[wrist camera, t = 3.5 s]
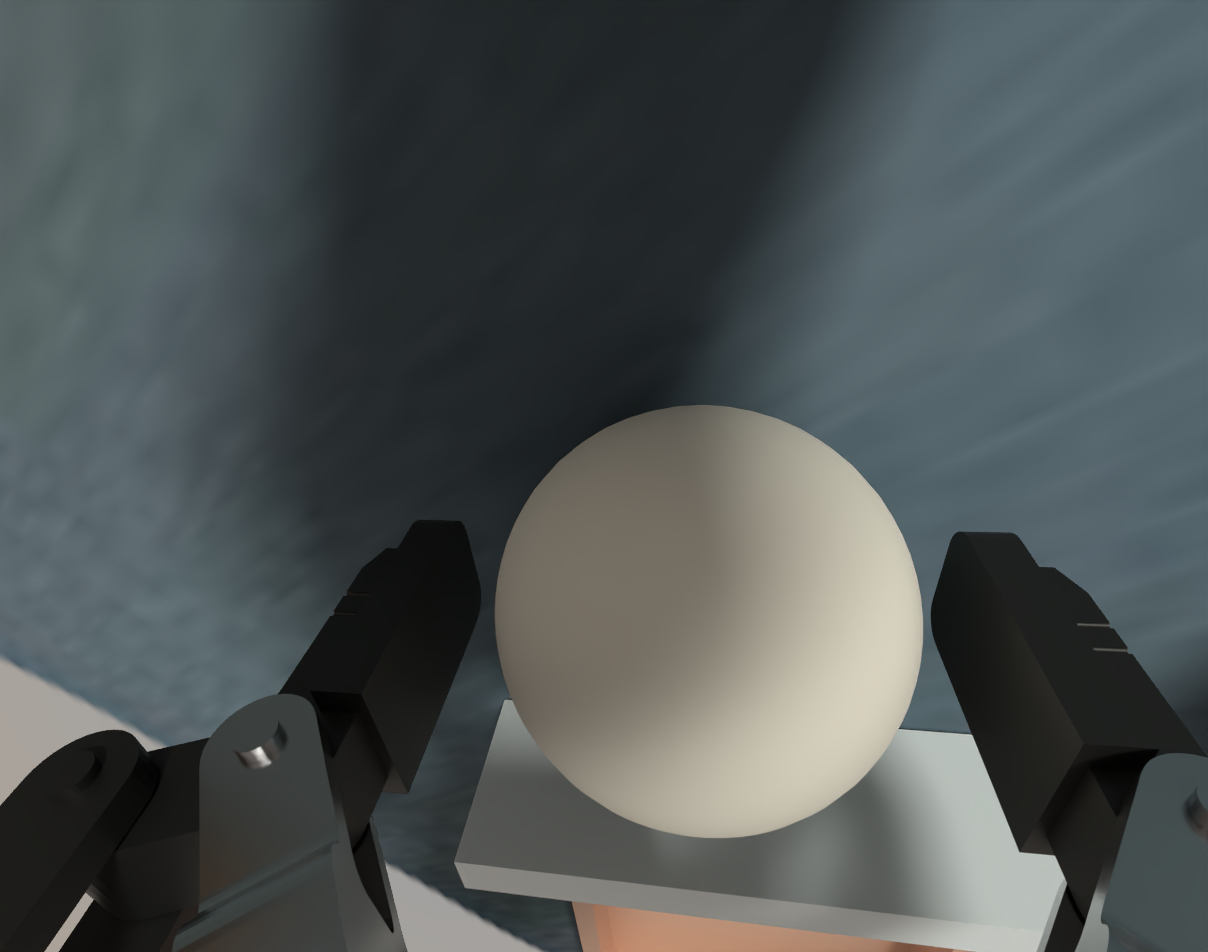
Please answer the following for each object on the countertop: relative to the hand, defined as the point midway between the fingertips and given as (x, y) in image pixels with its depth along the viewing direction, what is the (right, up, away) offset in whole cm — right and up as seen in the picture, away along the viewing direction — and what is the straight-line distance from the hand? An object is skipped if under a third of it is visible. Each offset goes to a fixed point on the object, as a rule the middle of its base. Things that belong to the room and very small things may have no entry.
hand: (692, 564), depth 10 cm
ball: (0, +1, +1) cm, 2 cm away
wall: (+3, -5, +5) cm, 8 cm away
